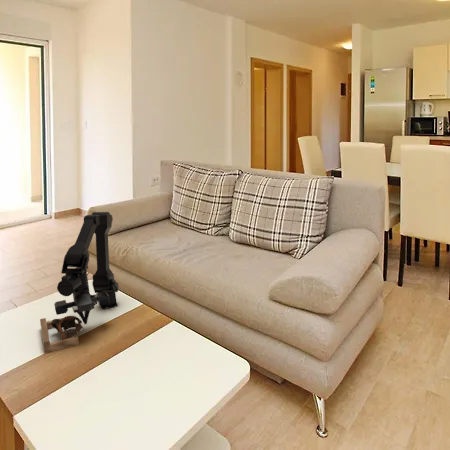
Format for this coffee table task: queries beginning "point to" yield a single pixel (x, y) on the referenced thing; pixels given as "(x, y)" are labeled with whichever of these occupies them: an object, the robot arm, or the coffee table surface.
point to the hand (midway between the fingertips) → (85, 323)
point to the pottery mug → (67, 326)
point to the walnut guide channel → (57, 344)
